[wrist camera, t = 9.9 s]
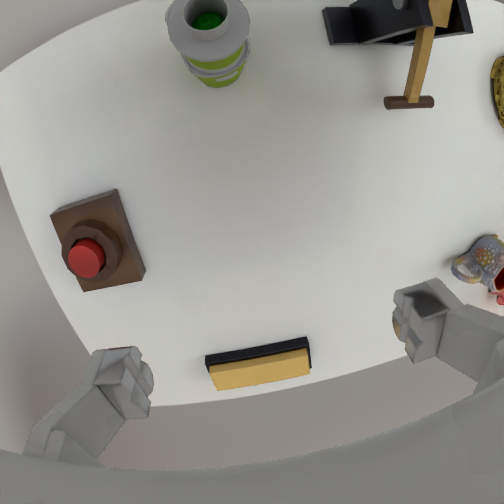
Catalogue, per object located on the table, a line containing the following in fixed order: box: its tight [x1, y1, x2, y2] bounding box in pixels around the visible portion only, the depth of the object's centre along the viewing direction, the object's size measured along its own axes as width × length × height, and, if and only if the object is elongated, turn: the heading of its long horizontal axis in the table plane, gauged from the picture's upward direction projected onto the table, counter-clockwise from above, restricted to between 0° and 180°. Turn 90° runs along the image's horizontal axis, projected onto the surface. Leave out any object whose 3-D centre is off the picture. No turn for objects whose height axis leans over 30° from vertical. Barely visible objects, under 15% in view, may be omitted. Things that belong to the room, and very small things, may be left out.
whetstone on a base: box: [205, 337, 312, 391], centre depth 41 cm, size 5×14×3 cm, turn 101°
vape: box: [165, 0, 250, 88], centre depth 17 cm, size 4×6×20 cm, turn 22°
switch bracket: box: [322, 0, 473, 46], centre depth 19 cm, size 4×10×13 cm, turn 101°
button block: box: [50, 189, 146, 292], centre depth 31 cm, size 10×8×4 cm
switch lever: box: [384, 0, 452, 110], centre depth 19 cm, size 12×5×2 cm
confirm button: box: [68, 239, 105, 278], centre depth 29 cm, size 4×4×2 cm
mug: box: [451, 235, 504, 292], centre depth 35 cm, size 12×7×7 cm, turn 92°
